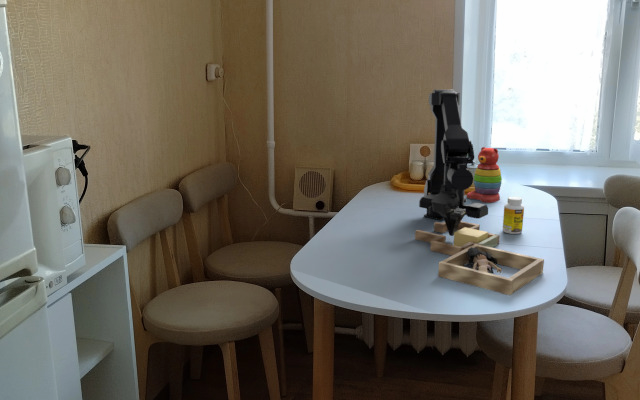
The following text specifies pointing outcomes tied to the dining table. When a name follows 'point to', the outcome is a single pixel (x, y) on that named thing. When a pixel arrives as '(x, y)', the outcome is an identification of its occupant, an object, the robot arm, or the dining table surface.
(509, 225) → the supplement bottle
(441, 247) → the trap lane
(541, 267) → the fence
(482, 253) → the toy figure
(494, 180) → the stacking bear
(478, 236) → the block
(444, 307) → the dining table surface
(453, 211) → the robot arm
